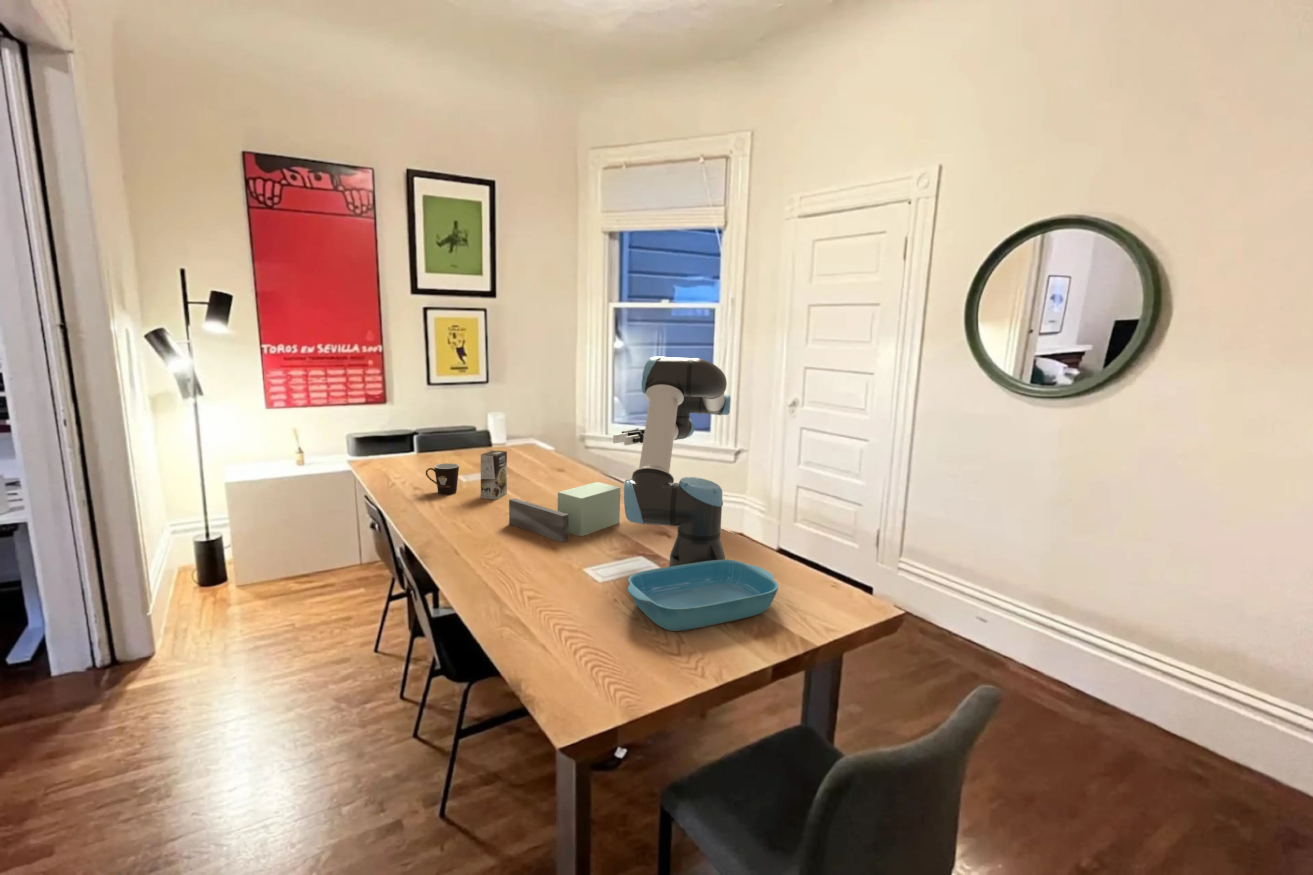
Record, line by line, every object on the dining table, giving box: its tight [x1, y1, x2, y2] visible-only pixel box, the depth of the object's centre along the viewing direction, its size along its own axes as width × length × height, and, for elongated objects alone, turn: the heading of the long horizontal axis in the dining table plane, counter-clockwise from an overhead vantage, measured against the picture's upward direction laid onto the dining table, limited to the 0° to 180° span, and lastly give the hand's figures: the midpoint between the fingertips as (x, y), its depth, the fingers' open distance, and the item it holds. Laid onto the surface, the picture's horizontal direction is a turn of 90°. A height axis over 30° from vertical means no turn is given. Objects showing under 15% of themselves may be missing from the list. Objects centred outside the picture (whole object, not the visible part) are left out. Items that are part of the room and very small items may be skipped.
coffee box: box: [480, 449, 508, 501], centre depth 229 cm, size 9×6×16 cm
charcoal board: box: [508, 497, 570, 543], centre depth 193 cm, size 2×24×8 cm, turn 52°
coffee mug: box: [425, 463, 460, 496], centre depth 233 cm, size 12×9×10 cm
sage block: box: [557, 481, 622, 537], centre depth 201 cm, size 18×10×12 cm, turn 143°
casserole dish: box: [627, 559, 780, 632], centre depth 146 cm, size 37×22×7 cm, turn 118°
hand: (619, 440), depth 208 cm, fingers open, 4 cm apart
